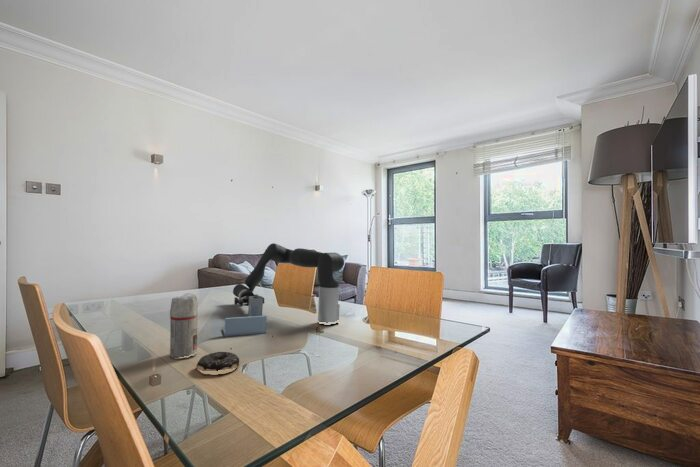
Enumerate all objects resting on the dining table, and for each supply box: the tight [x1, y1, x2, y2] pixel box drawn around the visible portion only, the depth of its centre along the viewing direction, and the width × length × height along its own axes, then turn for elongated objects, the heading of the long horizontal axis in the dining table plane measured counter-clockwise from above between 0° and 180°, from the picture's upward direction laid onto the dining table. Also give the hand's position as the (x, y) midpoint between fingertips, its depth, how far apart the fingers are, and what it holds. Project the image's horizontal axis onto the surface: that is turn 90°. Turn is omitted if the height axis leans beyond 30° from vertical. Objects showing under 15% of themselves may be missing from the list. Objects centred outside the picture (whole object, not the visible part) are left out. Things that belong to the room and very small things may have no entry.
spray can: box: [169, 292, 199, 360], centre depth 108 cm, size 8×8×20 cm
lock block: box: [247, 293, 264, 317], centre depth 150 cm, size 5×7×13 cm
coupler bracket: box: [222, 315, 268, 337], centre depth 138 cm, size 16×10×7 cm, turn 115°
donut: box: [196, 351, 240, 371], centre depth 99 cm, size 11×12×4 cm
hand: (251, 303), depth 161 cm, fingers open, 8 cm apart
